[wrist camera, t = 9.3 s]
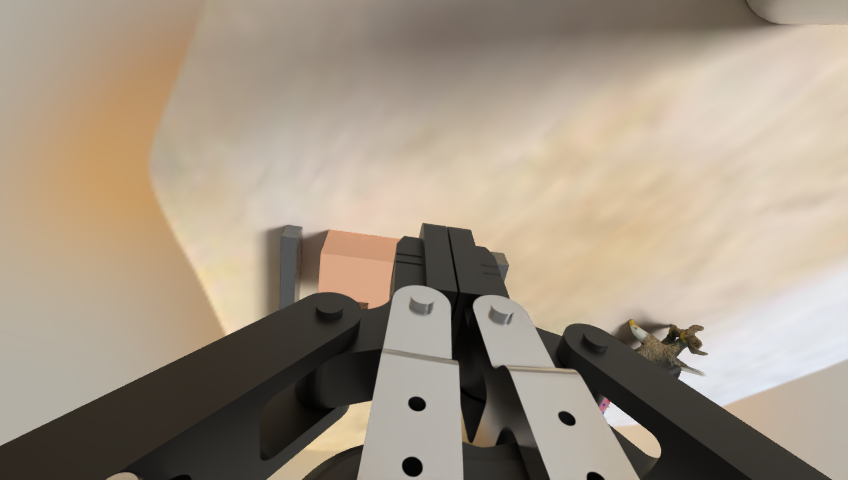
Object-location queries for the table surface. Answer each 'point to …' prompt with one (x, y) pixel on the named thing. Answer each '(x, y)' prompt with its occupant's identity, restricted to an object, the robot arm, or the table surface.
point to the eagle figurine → (669, 348)
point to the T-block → (357, 266)
